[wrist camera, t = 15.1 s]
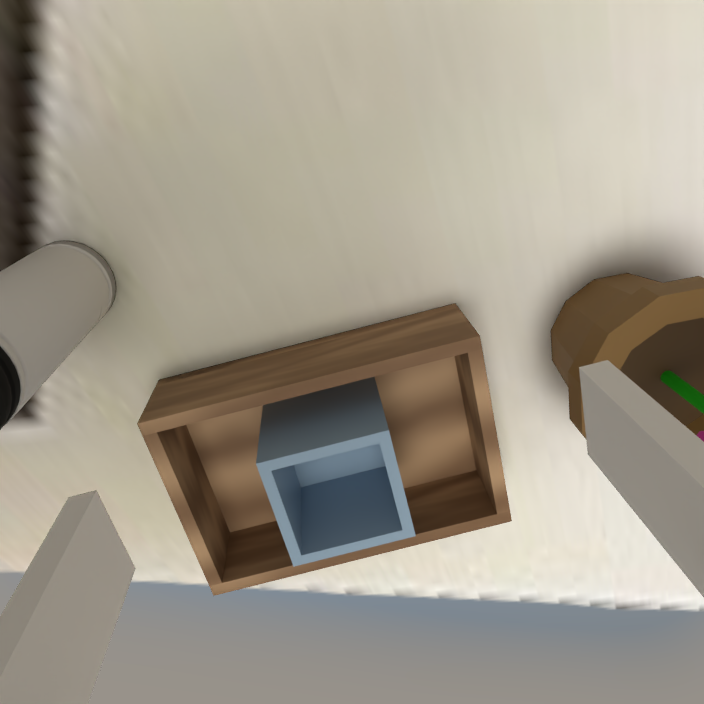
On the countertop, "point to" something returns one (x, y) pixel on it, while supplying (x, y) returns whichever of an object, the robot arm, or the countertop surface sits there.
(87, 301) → the travel mug
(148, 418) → the walnut crate
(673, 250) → the countertop surface
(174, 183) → the countertop surface
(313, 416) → the slate crate
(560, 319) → the flowerpot
